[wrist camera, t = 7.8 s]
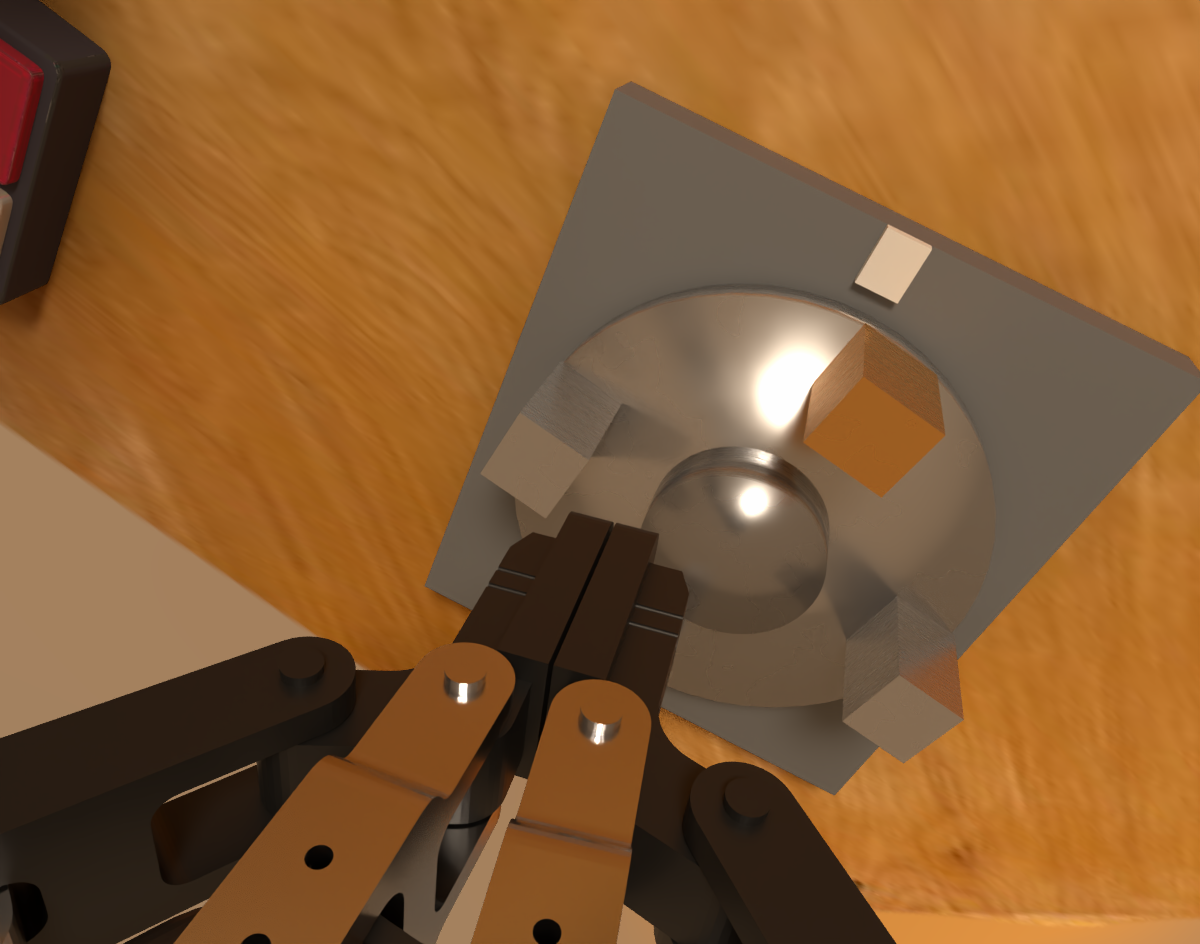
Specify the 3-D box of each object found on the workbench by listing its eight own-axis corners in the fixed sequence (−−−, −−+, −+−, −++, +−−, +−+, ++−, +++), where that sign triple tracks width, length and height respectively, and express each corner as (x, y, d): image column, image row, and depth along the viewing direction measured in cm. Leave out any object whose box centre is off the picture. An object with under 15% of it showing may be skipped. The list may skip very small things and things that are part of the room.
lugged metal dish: (472, 319, 31) (405, 379, 26) (981, 245, 25) (1002, 304, 21) (581, 684, 38) (541, 780, 33) (999, 686, 32) (1018, 801, 28)
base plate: (444, 559, 39) (420, 591, 37) (631, 81, 28) (611, 91, 26) (836, 759, 39) (834, 802, 37) (1188, 356, 28) (1212, 388, 26)
